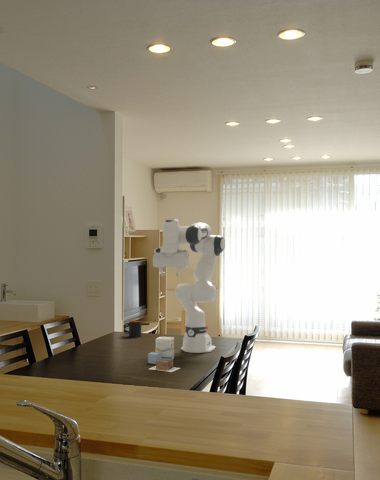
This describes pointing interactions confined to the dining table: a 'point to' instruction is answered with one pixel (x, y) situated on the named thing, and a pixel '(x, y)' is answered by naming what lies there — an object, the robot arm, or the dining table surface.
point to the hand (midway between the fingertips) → (170, 276)
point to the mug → (134, 328)
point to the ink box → (165, 347)
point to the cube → (154, 357)
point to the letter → (165, 370)
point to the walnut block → (164, 364)
